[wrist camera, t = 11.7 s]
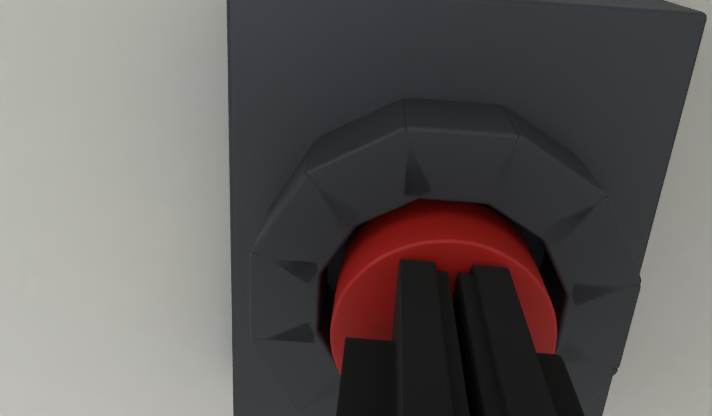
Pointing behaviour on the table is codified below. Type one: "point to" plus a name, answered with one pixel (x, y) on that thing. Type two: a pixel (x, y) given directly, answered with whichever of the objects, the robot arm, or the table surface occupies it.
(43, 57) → the table surface
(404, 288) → the robot arm
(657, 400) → the table surface
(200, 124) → the table surface
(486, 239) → the button
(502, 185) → the dark grey button housing
